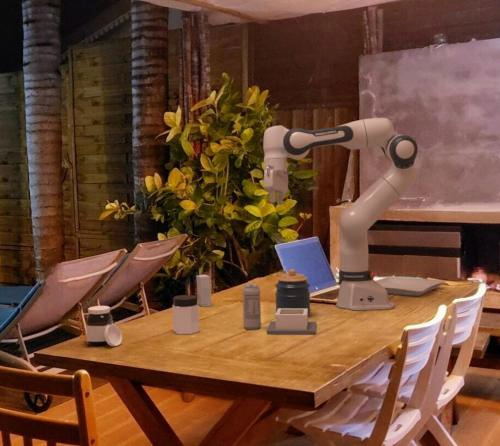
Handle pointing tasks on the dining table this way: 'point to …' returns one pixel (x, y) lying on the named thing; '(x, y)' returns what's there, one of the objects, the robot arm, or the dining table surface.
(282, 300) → the canister
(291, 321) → the sleeve mount
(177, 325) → the jar
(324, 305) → the dining table surface
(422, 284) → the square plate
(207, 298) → the skincare box
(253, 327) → the energy drink can
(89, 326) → the spread jar
